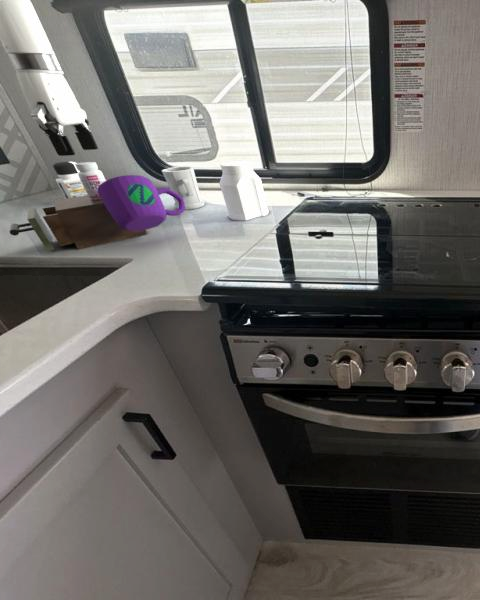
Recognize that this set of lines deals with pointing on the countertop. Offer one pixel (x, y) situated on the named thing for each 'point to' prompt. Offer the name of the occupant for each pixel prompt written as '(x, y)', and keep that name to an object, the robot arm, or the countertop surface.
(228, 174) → the jar
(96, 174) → the pill bottle
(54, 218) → the drawer
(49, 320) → the countertop surface
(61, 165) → the container
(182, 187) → the cup
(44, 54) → the robot arm
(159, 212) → the mug
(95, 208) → the cabinet
